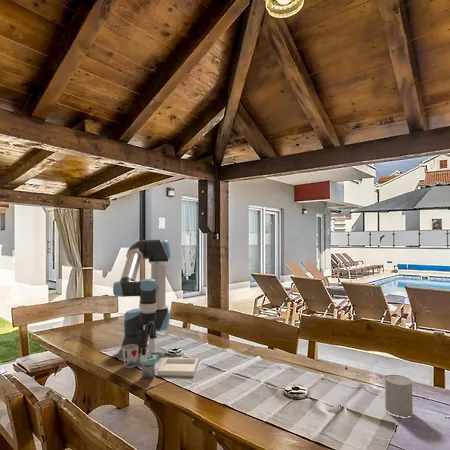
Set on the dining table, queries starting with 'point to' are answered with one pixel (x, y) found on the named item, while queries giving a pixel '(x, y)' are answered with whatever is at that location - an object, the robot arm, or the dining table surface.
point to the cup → (130, 355)
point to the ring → (150, 360)
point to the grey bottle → (148, 370)
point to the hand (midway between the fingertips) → (148, 356)
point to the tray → (178, 367)
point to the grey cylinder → (398, 395)
